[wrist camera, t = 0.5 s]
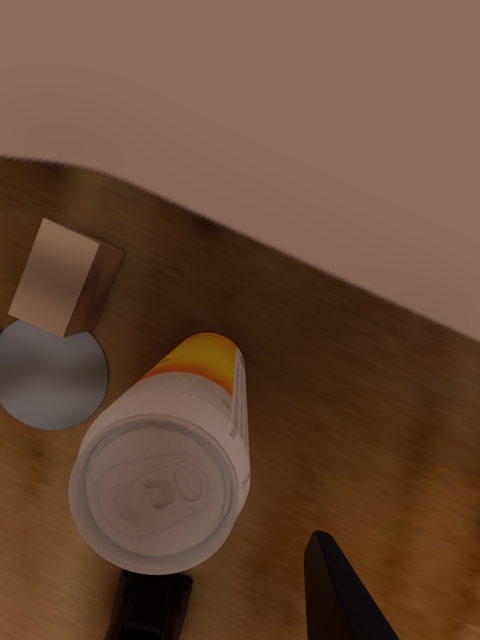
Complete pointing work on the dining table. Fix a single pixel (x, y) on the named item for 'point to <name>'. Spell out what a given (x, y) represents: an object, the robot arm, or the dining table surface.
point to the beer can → (167, 462)
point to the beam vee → (57, 330)
